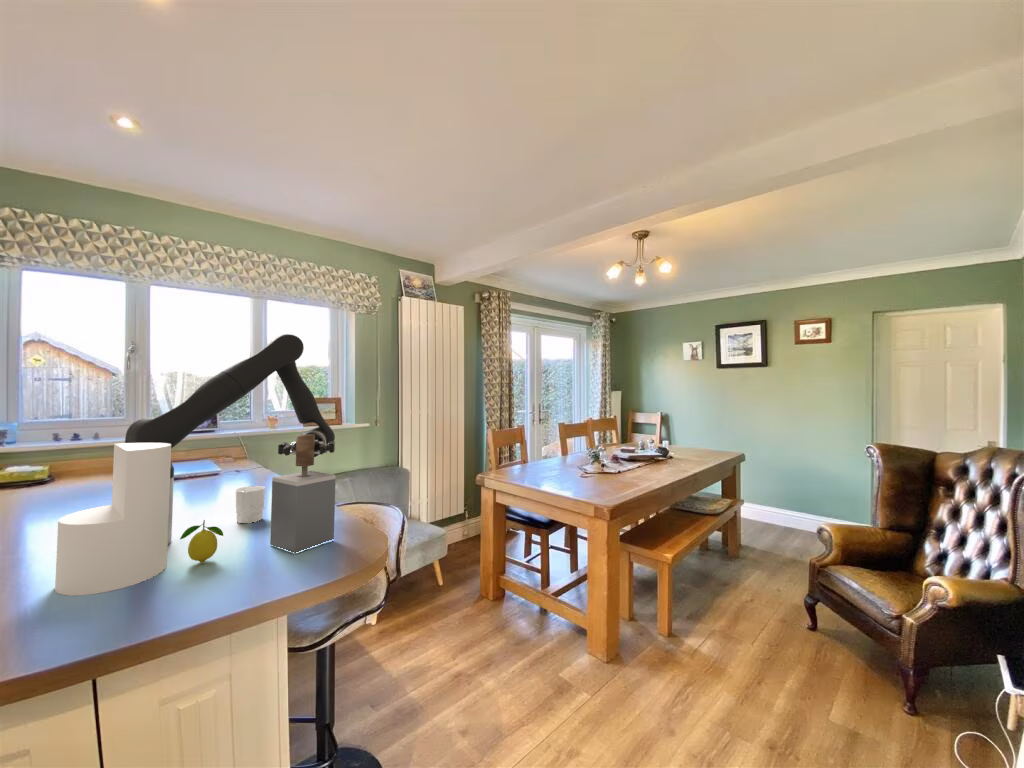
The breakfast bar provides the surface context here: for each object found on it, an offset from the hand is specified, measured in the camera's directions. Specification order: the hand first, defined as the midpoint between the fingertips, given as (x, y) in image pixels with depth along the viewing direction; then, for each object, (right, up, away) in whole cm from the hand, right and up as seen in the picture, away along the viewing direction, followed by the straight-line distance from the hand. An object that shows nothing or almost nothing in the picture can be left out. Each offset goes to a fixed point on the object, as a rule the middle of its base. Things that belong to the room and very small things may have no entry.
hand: (304, 451), depth 108 cm
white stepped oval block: (-31, -24, -19) cm, 44 cm away
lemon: (-18, -25, -12) cm, 33 cm away
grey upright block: (-1, -25, +1) cm, 25 cm away
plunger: (-1, -23, +1) cm, 23 cm away
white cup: (-27, -25, +20) cm, 42 cm away
